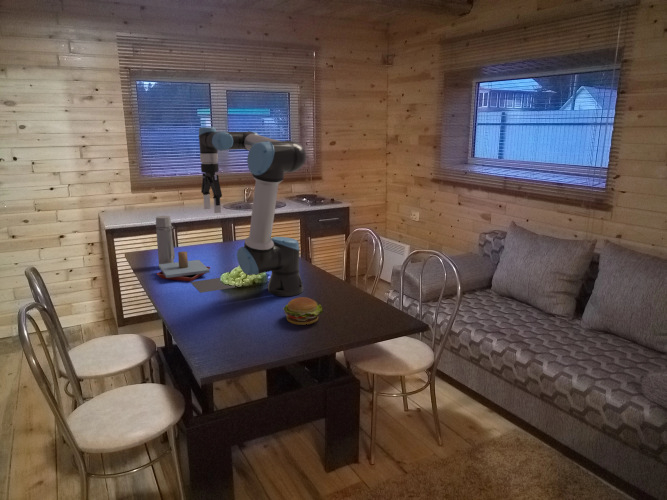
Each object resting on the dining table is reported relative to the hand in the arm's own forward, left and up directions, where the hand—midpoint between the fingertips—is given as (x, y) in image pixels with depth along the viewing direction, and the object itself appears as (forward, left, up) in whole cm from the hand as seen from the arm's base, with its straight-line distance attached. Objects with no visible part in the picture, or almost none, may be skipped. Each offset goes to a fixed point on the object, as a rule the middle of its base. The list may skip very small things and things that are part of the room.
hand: (212, 210), depth 227 cm
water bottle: (+24, +16, -31) cm, 42 cm away
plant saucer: (+6, +13, -31) cm, 34 cm away
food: (-66, -12, -31) cm, 74 cm away
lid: (+7, +13, -28) cm, 31 cm away
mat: (-13, +5, -31) cm, 34 cm away
